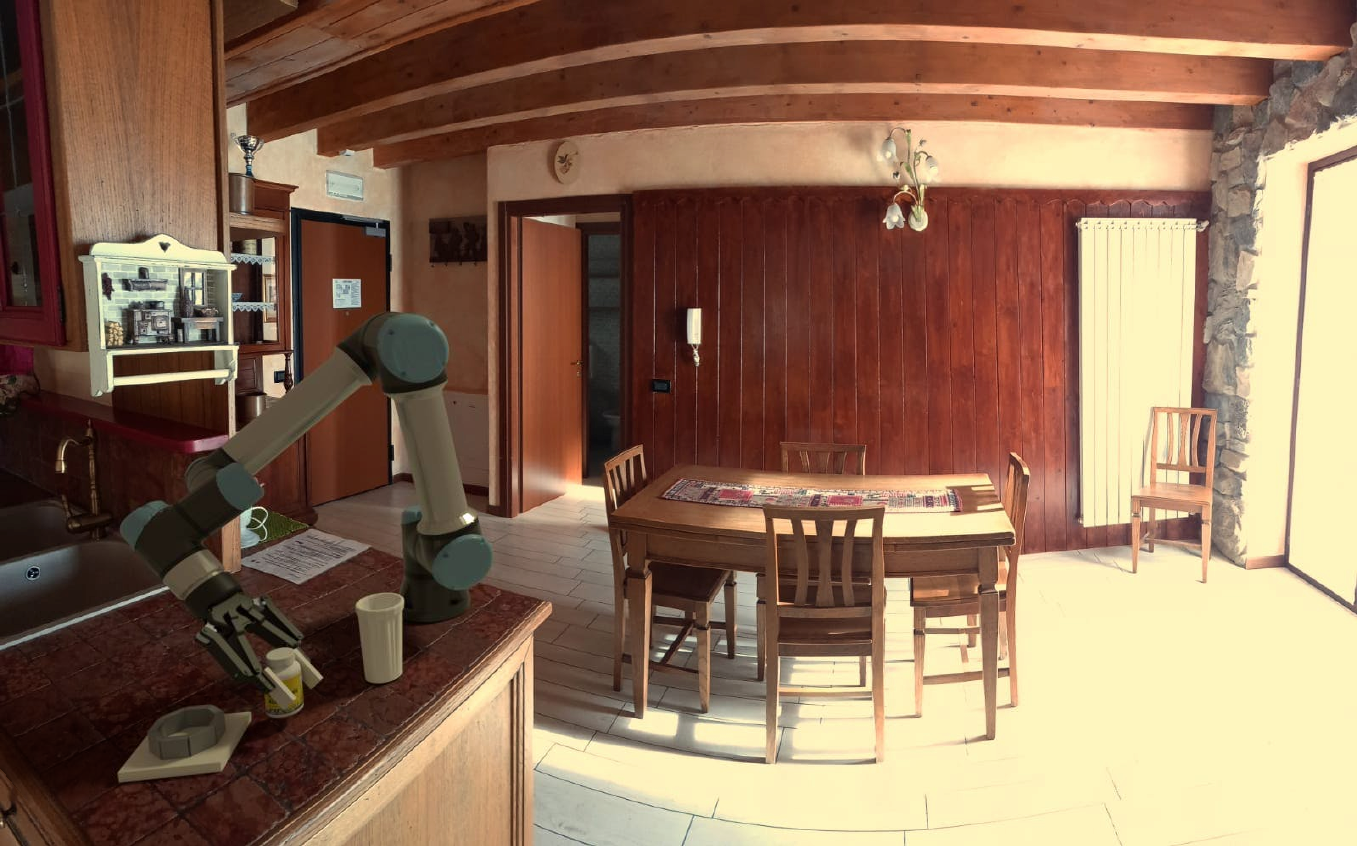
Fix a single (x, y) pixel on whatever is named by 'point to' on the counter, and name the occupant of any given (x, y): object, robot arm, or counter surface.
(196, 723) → the holder
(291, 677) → the supplement bottle
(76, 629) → the counter surface
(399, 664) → the cup
